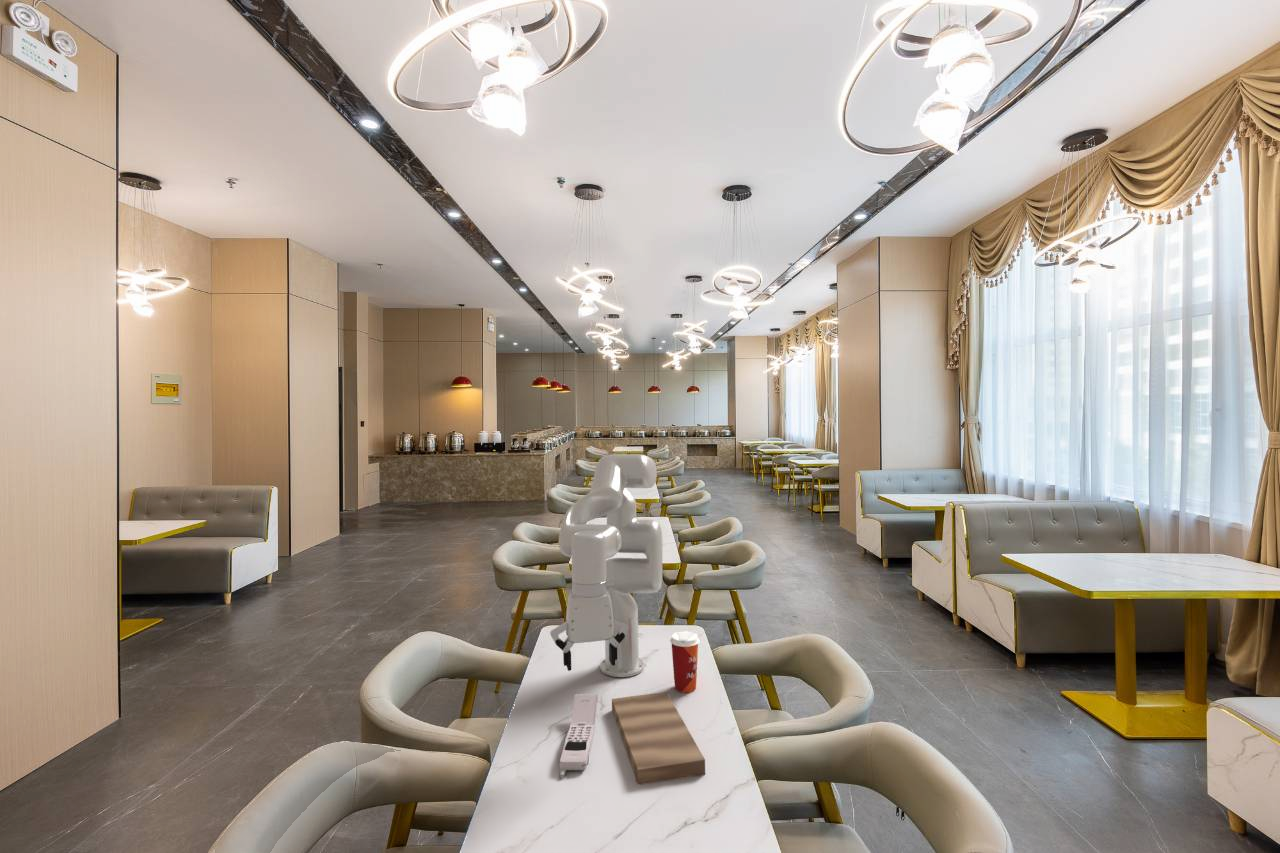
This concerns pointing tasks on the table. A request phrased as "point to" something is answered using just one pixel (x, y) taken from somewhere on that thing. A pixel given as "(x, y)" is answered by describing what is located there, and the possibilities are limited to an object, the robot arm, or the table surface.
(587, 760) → the mobile phone
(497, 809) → the table surface
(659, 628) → the table surface
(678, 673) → the paper cup
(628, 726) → the walnut stand
